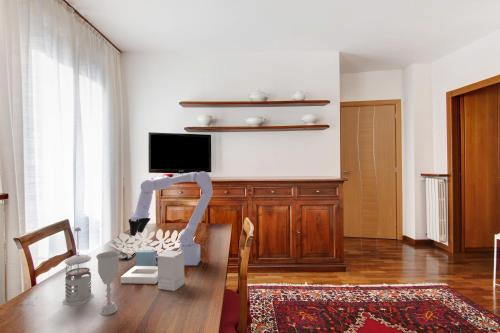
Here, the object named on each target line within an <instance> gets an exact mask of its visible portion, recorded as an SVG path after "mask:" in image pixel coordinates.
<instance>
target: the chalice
mask: <svg viewBox="0 0 500 333" xmlns="http://www.w3.org/2000/svg"><path fill="white" fill-rule="evenodd" d="M119 254H120V251H117V250H114V251H113V250H112V251H111V250H110V251H105V252H101V253H98V254H97V255H96V256H95V257H96V259H97V272H98V275H99V278H100V280H101V281H102V283H103V284H104V285H106V290H105V292H106V293H107V294H106V295H105V297H106V301H105V303H104V302H103V305H102V307H101V308H100V309H101V310H100V312H99V314H100V315H102V316H106V315H107V316H108V315H112V314H114V313H115V312H117V311H118V307H117V305H116V303H115V302H114V301H112V300H111V298H112V294H111V291H112V288H111V284H113V282H114V281H115V279H116V276H117V275H118V272H119V259H118V256H119Z"/></svg>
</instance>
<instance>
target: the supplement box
mask: <svg viewBox="0 0 500 333" xmlns="http://www.w3.org/2000/svg"><path fill="white" fill-rule="evenodd" d="M156 258H157V266H158V282H157V288H158V290H165V291H171V292H175V291H177V290H178V289H180V288H181V287H182V286H183V285H184V284H185V265H184V252H180V250H179V251H177V250H171V249H169V250H166V251H164V252H162V253H160V254H159V255H156Z"/></svg>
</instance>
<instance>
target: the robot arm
mask: <svg viewBox="0 0 500 333" xmlns="http://www.w3.org/2000/svg"><path fill="white" fill-rule="evenodd" d="M187 181H189V182H192V183H195V182H196V184H197V185H198V187H199V188H200V190H201V192H202V193H201V195H200V198H199V200H198V202H197V204H196V206H195V209H194V210H193V213H192V214H191V217H190V218H189V221H188V223H187V225H186V227H185V228H184V229H183V230H182V231H181V233H180V236H179V251H180V252H184V266H198V265H199V263H200V261H201V260H202V259H201V244H199V243H196V242H195V240H194V239H195V234H196V230H197V228H198V226H199V224H200V221H201V219H202V217H203V215H204V214H205V212H206V209H207V206H208V205H209V203H210V200H211V199H212V196H213V195H214V191H213V190H214V189H213V184H212V179H211V176H210V175H209V173H208V172H206V171H203V170H202V171H199V172H198V171H194V172H193V171H192V172H188V173H184V174H179V175H176V176H172V177H171V176H168V175H165V174H162V175H161V176H160V177H156V178H155V177H151V178H150V179H146V180H144V181H142V182H141V184H140V193H139V195H138V199H137V203H136V207H135V212H132V216H131V218H129V219H128V224H129V235H130V236H132V237H135V236H136V235H137V232H138V233H140V234H142V233H143V232H144V230H145V228H146V227H147V225H148V223H149V222H150V221H151V218H150V213H149V212H150V211H149V210H150V207H151V204H152V200H153V194H154V191H160V190H165V189H169V188H171V187H172V185H175V184H179V183H184V182H187Z"/></svg>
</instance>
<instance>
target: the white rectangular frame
mask: <svg viewBox="0 0 500 333" xmlns="http://www.w3.org/2000/svg"><path fill="white" fill-rule="evenodd" d="M120 283H121V284H149V285H150V284H151V285H152V284H153V285H155V284H158V265H155V266H136V265H134V266H133V267H131V268H130V269H129V270H128V271H126V272H125V273H124V274H123V275H122V276H120Z"/></svg>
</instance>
